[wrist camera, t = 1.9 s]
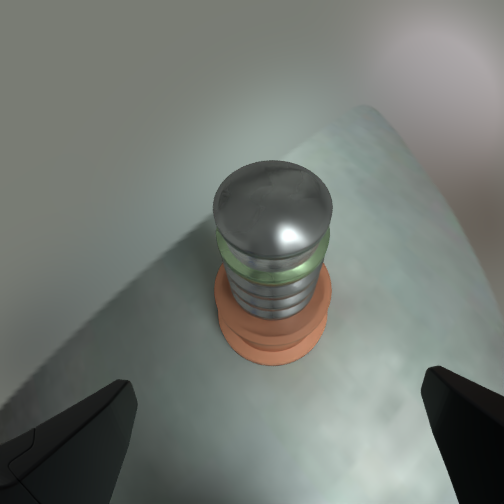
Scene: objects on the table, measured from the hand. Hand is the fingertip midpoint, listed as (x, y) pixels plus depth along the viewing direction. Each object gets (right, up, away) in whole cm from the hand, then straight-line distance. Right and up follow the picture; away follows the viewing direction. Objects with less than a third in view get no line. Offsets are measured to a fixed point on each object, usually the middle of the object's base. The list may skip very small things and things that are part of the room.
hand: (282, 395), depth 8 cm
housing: (+1, 0, +14) cm, 14 cm away
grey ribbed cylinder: (0, +2, +10) cm, 10 cm away
